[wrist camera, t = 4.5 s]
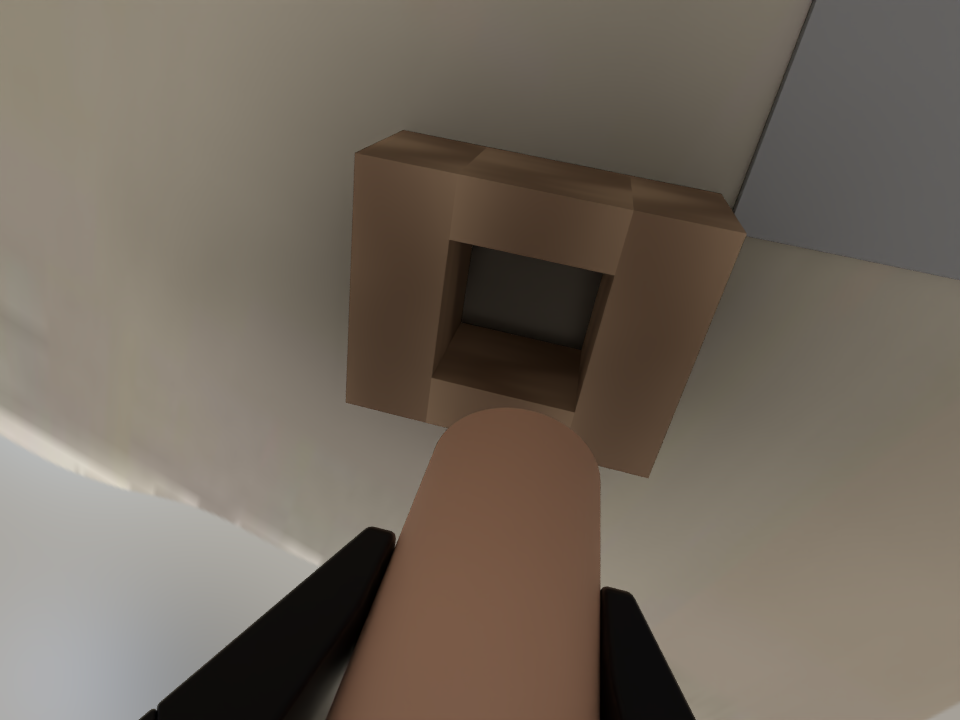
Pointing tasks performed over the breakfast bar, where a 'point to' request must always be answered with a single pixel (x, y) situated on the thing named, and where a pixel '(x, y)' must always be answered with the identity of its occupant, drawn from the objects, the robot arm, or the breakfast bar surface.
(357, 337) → the hole block
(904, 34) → the mat
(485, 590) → the peg
